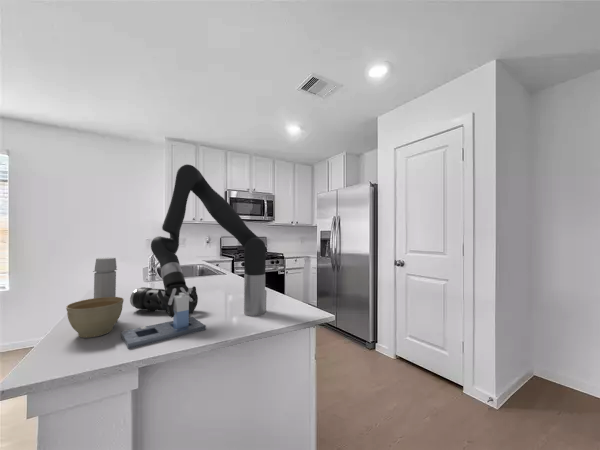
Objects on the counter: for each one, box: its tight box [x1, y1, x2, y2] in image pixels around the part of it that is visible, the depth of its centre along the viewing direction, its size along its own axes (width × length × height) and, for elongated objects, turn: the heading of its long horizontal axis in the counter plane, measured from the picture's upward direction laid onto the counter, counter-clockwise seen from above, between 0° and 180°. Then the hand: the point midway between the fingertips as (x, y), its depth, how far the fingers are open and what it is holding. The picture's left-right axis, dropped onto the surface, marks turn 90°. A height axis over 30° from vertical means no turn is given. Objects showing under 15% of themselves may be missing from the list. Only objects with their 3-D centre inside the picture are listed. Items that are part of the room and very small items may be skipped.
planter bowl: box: [65, 296, 125, 339], centre depth 95 cm, size 16×16×11 cm
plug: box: [172, 293, 190, 329], centre depth 98 cm, size 4×4×13 cm
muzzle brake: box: [129, 287, 199, 314], centre depth 120 cm, size 10×28×10 cm, turn 78°
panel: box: [120, 316, 207, 350], centre depth 94 cm, size 24×13×2 cm, turn 132°
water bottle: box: [92, 257, 118, 298], centre depth 108 cm, size 9×8×25 cm
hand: (182, 314), depth 97 cm, fingers open, 6 cm apart
